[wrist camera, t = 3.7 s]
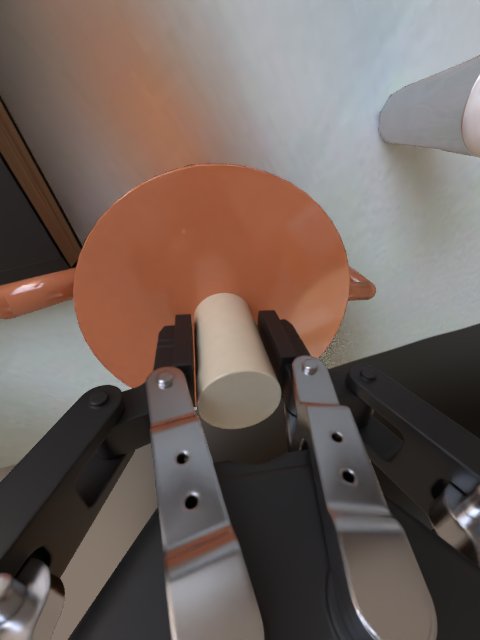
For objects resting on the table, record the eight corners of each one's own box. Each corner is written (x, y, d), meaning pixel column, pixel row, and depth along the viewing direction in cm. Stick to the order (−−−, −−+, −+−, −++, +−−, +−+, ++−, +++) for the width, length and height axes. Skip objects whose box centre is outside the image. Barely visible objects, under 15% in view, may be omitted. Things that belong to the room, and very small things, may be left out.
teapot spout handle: (336, 248, 22) (384, 281, 16) (331, 269, 23) (375, 306, 17) (30, 252, 18) (-35, 295, 13) (39, 276, 19) (-17, 326, 14)
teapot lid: (372, 169, 12) (525, 187, 7) (314, 384, 20) (363, 477, 14) (35, 155, 10) (-153, 165, 4) (114, 404, 17) (81, 523, 12)
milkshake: (442, 127, 20) (626, 113, 12) (375, 166, 20) (502, 180, 12) (439, 50, 17) (671, -38, 9) (362, 98, 18) (512, 57, 10)
